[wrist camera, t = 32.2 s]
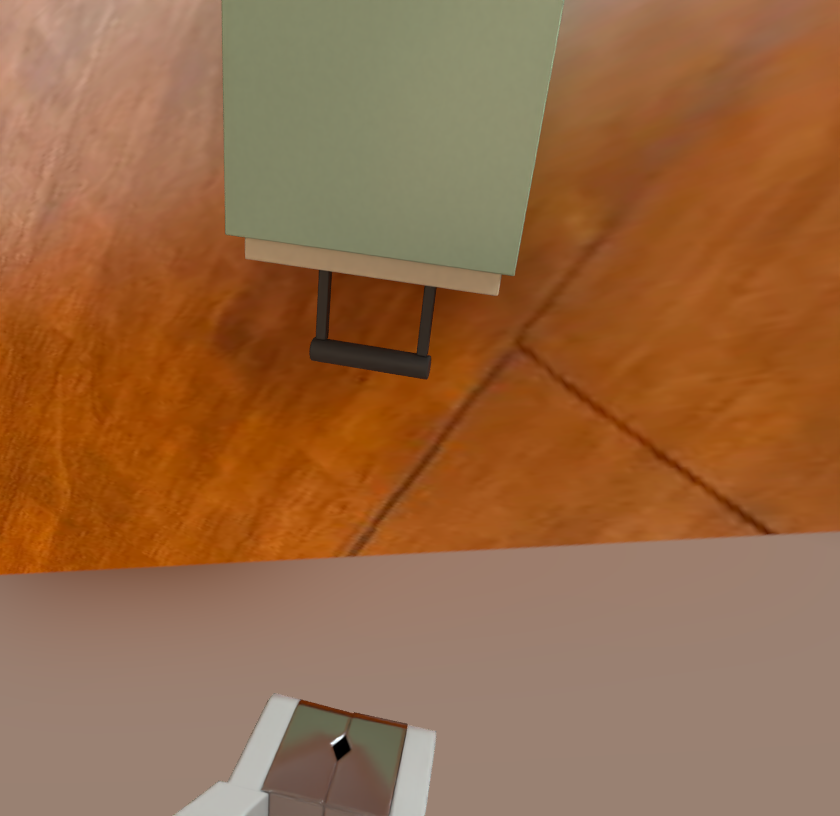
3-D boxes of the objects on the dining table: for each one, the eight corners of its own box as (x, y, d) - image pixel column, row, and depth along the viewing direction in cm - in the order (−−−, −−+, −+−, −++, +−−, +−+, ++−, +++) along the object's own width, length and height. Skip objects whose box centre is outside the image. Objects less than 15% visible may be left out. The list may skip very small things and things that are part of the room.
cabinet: (514, 257, 34) (514, 276, 26) (292, 226, 36) (224, 234, 27) (573, -74, 28) (598, -190, 20) (302, -94, 29) (217, -210, 21)
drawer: (486, 363, 36) (479, 401, 29) (293, 332, 37) (244, 361, 31) (553, -27, 28) (565, -97, 21) (304, -48, 29) (243, -120, 23)
